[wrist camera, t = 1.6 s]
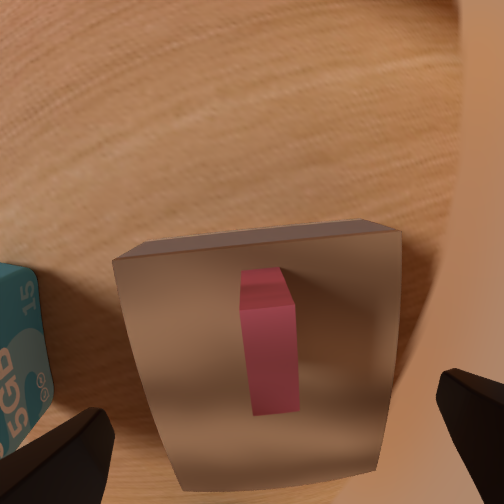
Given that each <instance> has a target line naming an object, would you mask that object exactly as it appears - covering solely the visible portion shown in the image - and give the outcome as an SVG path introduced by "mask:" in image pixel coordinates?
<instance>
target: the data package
mask: <svg viewBox="0 0 504 504" xmlns="http://www.w3.org/2000/svg"><path fill="white" fill-rule="evenodd" d="M53 394H54V385H53V380H52V376H51V371H50V366H49V361H48V356H47V351H46V345H45V339H44V333H43V326H42V318H41V310H40V301H39V291H38V282H37V278H36V275H35V274H34V272H33V271H32V270H31V269H30V268H27V267H22V266H16V265H11V264H6V263H1V262H0V459H2V458H4V457H6V456H7V455H9V454H11V453H13V452H15V451H16V449H17V448H18V447H19V445H20V444H21V442H22V441H23V440H24V439H25V437H26V436H27V435H28V433H29V432H30V431H31V429H32V428H33V427H34V426H35V424H36V423H37V422H38V420H39V419H40V418H41V417H42V415H43V414H44V413H45V411H46V410H47V409H48V408H49V406H50V404H51V402H52V399H53Z"/></svg>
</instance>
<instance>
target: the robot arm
mask: <svg viewBox="0 0 504 504" xmlns="http://www.w3.org/2000/svg"><path fill="white" fill-rule="evenodd" d="M436 401H437V405H438V407H439V410H440V412H441V414H442V417H443V419H444V421H445V424H446V426H447V429H448V431H449V434H450V436H451V438H452V441H453V443H454V445H455V447H456V449H457V451H458V453H459V454H460V456H461V458H462V460H463V462H464V464H465V466H466V468H467V470H468V472H469V474H470V475H471V478H472V479H473V481H474V484H475V485H476V488H477V489H478V492H479V494H480V496H481V498H482V500H483V502H484V504H504V384H502V383H499V382H496V381H493V380H490V379H487V378H484V377H481V376H478V375H475V374H472V373H469V372H465V371H463V370H460V369H457V368H453V369H450V370H447V371H444V372H443V373H442V374H441V376H440V380H439V385H438V389H437V393H436ZM114 439H115V433H114V429H113V427H112V425H111V423H110V420H109V418H108V416H107V414H106V412H105V410H104V409H102V408H94V407H90V408H88V409H86V410H84V411H83V412H81V413H79V414H78V415H76V416H74V417H73V418H71V419H69V420H68V421H66V422H64V423H63V424H61V425H59V426H58V427H56V428H54V429H53V430H51V431H49V432H48V433H46V434H44V435H42V436H41V437H39V438H37V439H36V440H34V441H32V442H30V443H29V444H27V445H25V446H23V447H22V448H20V449H18V450H16V451H15V452H13V453H11V454H9V455H7V456H6V457H4V458H2V459H0V504H101V500H102V497H103V493H104V490H105V486H106V483H107V478H108V472H109V467H110V461H111V455H112V450H113V445H114Z"/></svg>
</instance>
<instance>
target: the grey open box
mask: <svg viewBox="0 0 504 504" xmlns="http://www.w3.org/2000/svg"><path fill="white" fill-rule="evenodd" d="M384 230H395V229H393V228H390V227H387V226H383V225H380V224H377V223H373V222H370V221H367V220H363V219H349V220H337V221H326V222H315V223H304V224H293V225H283V226H273V227H262V228H253V229H243V230H233V231H224V232H214V233H205V234H196V235H187V236H179V237H170V238H161V239H153V240H147V241H145V242H144V243H142V244H140V245H138V246H137V247H135V248H133V249H131V250H129V251H128V252H126V253H124V254H123V255H121V256H119V257H117V258H120V257H129V256H138V255H147V254H156V253H165V252H175V251H184V250H194V249H203V248H213V247H222V246H232V245H242V244H251V243H261V242H271V241H281V240H291V239H301V238H311V237H321V236H332V235H342V234H352V233H363V232H373V231H384Z"/></svg>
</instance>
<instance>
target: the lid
mask: <svg viewBox="0 0 504 504" xmlns="http://www.w3.org/2000/svg"><path fill="white" fill-rule="evenodd" d="M112 264H113V270H114V275H115V280H116V285H117V290H118V295H119V299H120V304H121V308H122V313H123V317H124V321H125V325H126V329H127V333H128V337H129V341H130V344H131V348H132V352H133V355H134V359H135V362H136V366H137V369H138V373H139V376H140V379H141V383H142V386H143V389H144V392H145V395H146V398H147V401H148V404H149V407H150V410H151V413H152V416H153V419H154V421H155V424H156V427H157V430H158V432H159V435H160V438H161V440H162V443H163V445H164V448H165V450H166V453H167V455H168V458H169V460H170V463H171V465H172V468H173V470H174V472H175V475H176V477H177V479H178V481H179V484H180V486H181V488H182V490H183V491H193V492H230V491H252V490H266V489H276V488H286V487H294V486H301V485H308V484H314V483H320V482H326V481H331V480H336V479H341V478H346V477H351V476H355V475H359V474H364V473H368V472H371V471H375V470H376V467H377V463H378V459H379V455H380V450H381V446H382V441H383V437H384V431H385V426H386V421H387V416H388V410H389V404H390V398H391V392H392V385H393V378H394V370H395V362H396V353H397V344H398V333H399V320H400V304H401V279H402V231H400V230H396V229H395V230H384V231H373V232H363V233H352V234H342V235H332V236H321V237H311V238H301V239H291V240H281V241H271V242H261V243H251V244H242V245H232V246H222V247H213V248H203V249H194V250H184V251H175V252H165V253H156V254H147V255H138V256H129V257H120V258H116V259H114V260H112Z"/></svg>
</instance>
